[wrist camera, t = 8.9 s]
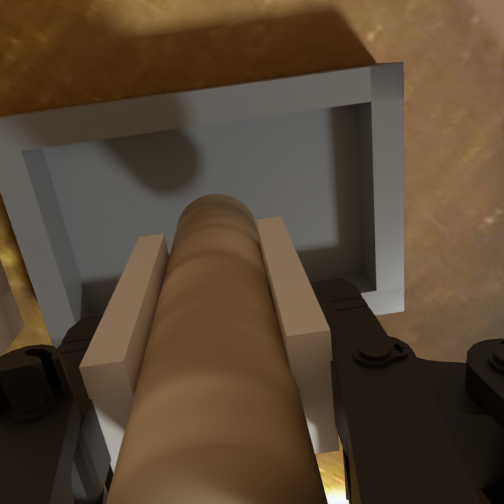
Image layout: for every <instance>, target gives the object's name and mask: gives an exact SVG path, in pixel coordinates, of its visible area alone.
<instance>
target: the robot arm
mask: <svg viewBox="0 0 504 504" xmlns="http://www.w3.org/2000/svg"><path fill="white" fill-rule="evenodd" d="M256 223H257V230H258V238H259V245H260V249H261V253H262V257H263V261H264V265H265V269H266V273H267V277H268V281H269V286H270V290H271V294H272V298H273V302H274V306H275V310H276V314H277V318H278V322H279V326H280V330H281V335H282V339H283V343H284V347H285V351H286V355H287V359H288V363H289V367H290V371H291V374H292V376H293V377H294V379H295V381H296V384H297V387H298V390H299V394H300V397H301V401H302V405H303V409H304V413H305V417H306V421H307V425H308V429H309V433H310V436H311V440H312V444H313V448H314V452H315V454H318V453H324V452H331V451H337V450H339V442H338V434H339V437H340V440H341V443H342V446H343V458H344V472H345V487H346V500H349V504H504V339H490V340H484V341H481V342H479V343H476V344H474V345H473V346H472V347H471V348H470V349H469V350H468V351H467V362H466V363H457V362H439V361H431V360H425V359H421V358H417V357H416V355H415V353H414V352H413V350H412V349H411V348H410V347H409V345H408V344H406V343H404V342H403V341H401V340H399V339H397V338H394V337H390V336H388V335H387V334H386V332H385V330H384V329H383V327H382V326H381V324H380V323H379V321H378V320H377V318H376V316H375V315H374V313H373V312H372V310H371V309H370V307H368V304H367V303H366V301H365V299H364V298H363V297H362V295H361V293H360V292H359V290H358V289H357V287H356V286H355V285H354V284H352V283H350V282H348V281H347V280H345V279H343V278H335V279H329V280H322V281H315V282H309V280H308V278H307V275H306V273H305V271H304V268H303V266H302V264H301V262H300V259H299V257H298V255H297V252H296V250H295V248H294V246H293V243H292V241H291V239H290V236H289V234H288V232H287V230H286V227H285V225H284V223H283V220H282V218H281V216H280V217H274V218H267V219H260V220H256ZM168 259H169V253H168V248H167V243H166V238H165V234H164V233H163V234H156V235H149V236H142V237H139V239H138V241H137V243H136V246H135V248H134V250H133V252H132V254H131V256H130V259H129V261H128V263H127V265H126V267H125V269H124V271H123V274H122V276H121V278H120V280H119V282H118V284H117V287H116V289H115V291H114V293H113V295H112V297H111V299H110V302H109V304H108V306H107V308H106V310H105V312H104V314H102V315H95V316H88V317H83V318H82V319H80V320H79V321H78V322H77V323H76V324H74V325H73V326H72V327H71V328H70V329H68V331H67V333H66V335H65V336H64V338H63V340H62V342H61V345H59V347H58V349H57V348H55V347H54V346H50V345H43V344H41V345H32V346H26V347H23V348H20V349H16V350H13V351H11V352H9V353H7V354H4V355H2V356H0V504H106V501H107V498H108V492H107V489H106V486H105V481H106V477H107V474H108V470H109V466H110V464H111V467H112V470H113V474H114V470H115V466H116V462H117V458H118V455H119V451H120V447H121V443H122V439H123V435H124V431H125V427H126V423H127V419H128V416H129V412H130V408H131V404H132V400H133V396H134V392H135V388H136V384H137V380H138V377H139V373H140V369H141V365H142V361H143V357H144V353H145V349H146V345H147V341H148V337H149V334H150V330H151V326H152V322H153V318H154V314H155V310H156V306H157V302H158V298H159V295H160V291H161V287H162V283H163V279H164V275H165V271H166V267H167V263H168Z"/></svg>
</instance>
